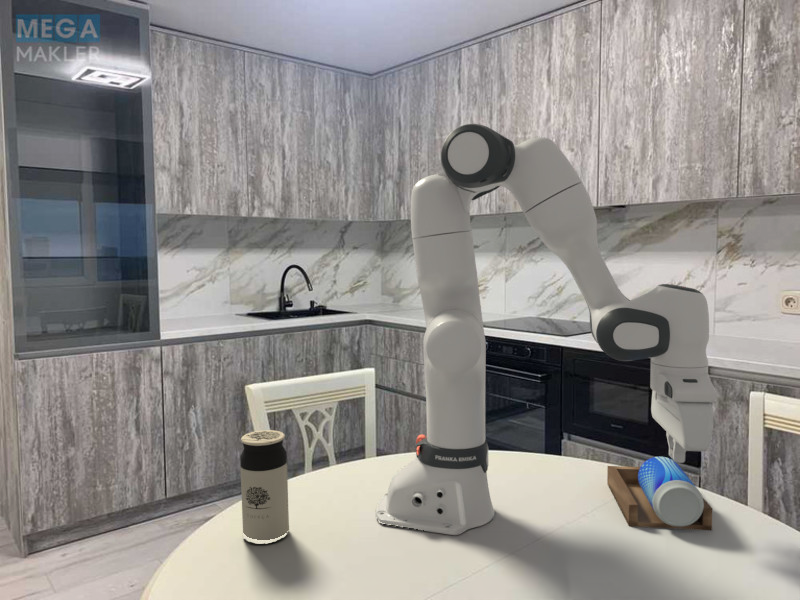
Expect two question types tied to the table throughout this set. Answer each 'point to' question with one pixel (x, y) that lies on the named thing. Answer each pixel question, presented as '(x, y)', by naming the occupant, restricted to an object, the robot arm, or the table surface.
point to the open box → (644, 501)
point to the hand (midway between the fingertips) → (676, 459)
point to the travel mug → (264, 485)
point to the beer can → (670, 492)
